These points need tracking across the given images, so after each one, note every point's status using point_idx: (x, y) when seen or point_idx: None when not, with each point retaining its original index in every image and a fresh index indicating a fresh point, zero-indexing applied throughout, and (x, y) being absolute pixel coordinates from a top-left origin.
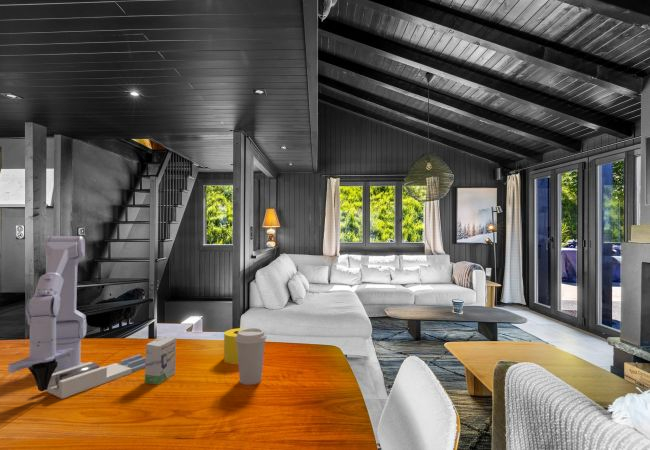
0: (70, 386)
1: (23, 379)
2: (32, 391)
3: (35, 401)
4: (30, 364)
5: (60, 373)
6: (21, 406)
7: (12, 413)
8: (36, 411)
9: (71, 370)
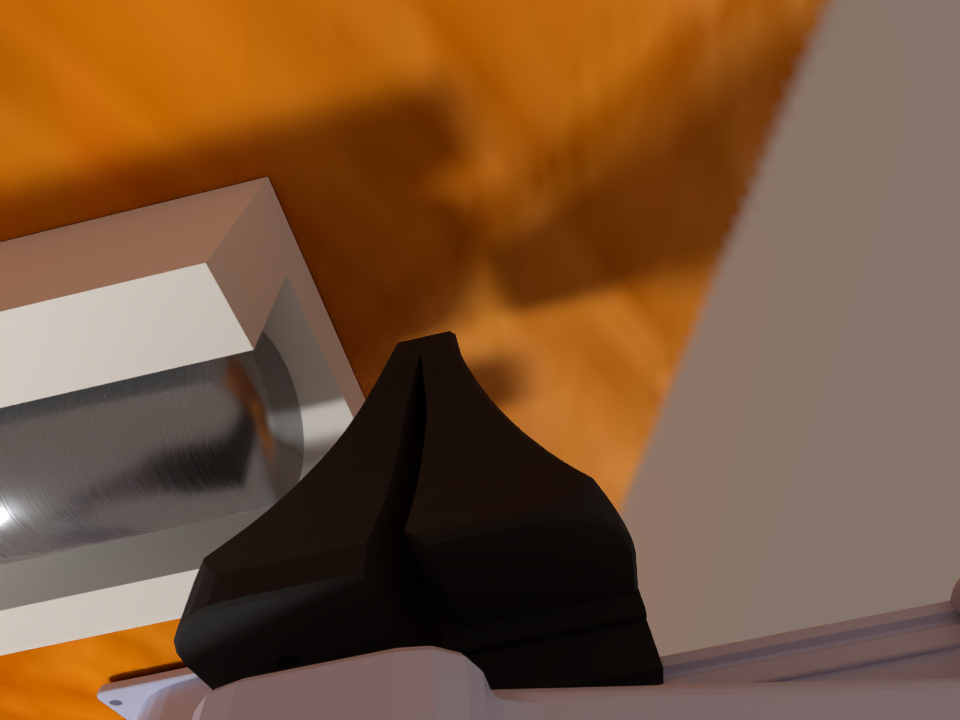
0: (135, 244)
1: None
2: None
3: (491, 302)
4: (801, 682)
5: None
6: (604, 276)
7: (708, 166)
8: (545, 10)
9: (82, 519)
